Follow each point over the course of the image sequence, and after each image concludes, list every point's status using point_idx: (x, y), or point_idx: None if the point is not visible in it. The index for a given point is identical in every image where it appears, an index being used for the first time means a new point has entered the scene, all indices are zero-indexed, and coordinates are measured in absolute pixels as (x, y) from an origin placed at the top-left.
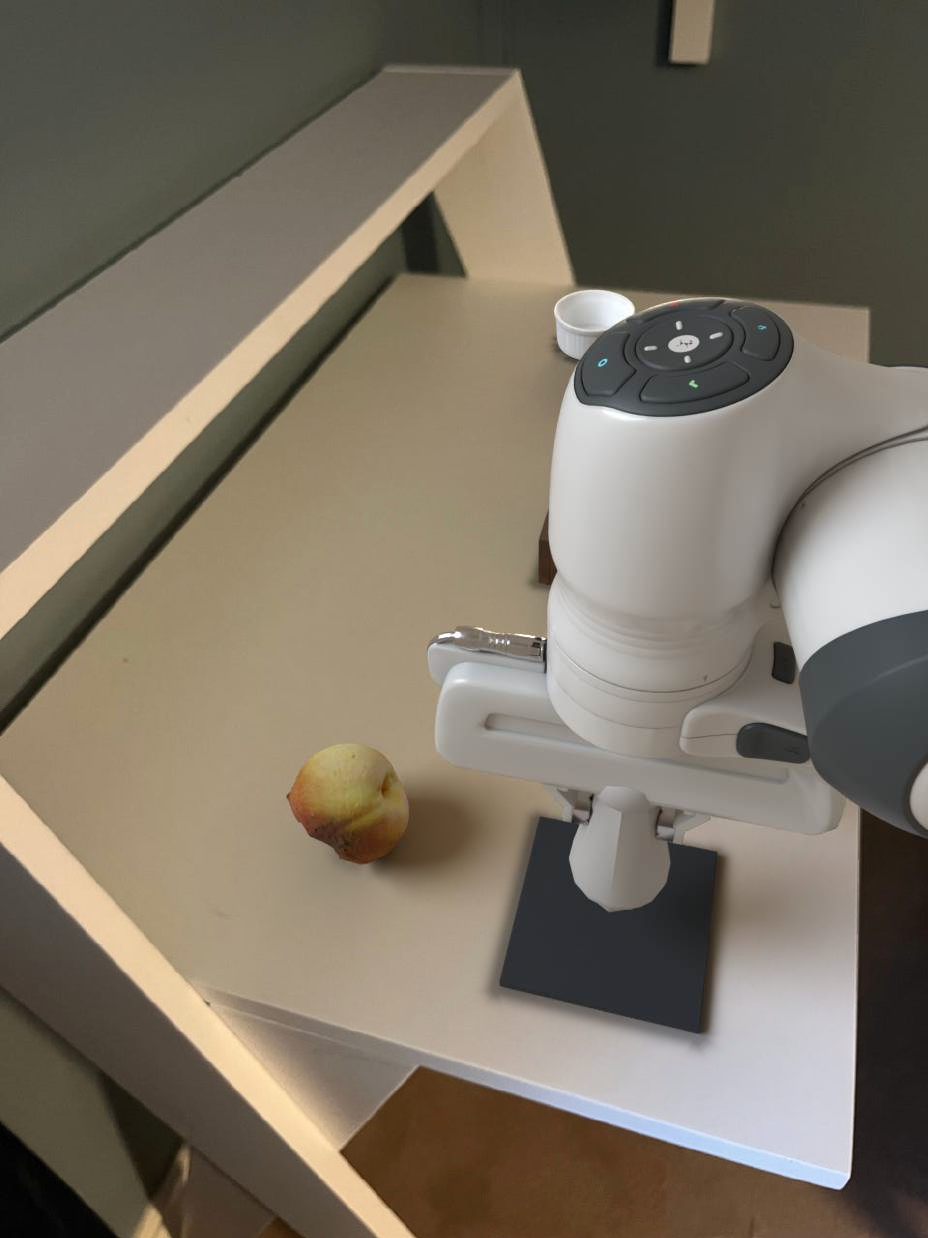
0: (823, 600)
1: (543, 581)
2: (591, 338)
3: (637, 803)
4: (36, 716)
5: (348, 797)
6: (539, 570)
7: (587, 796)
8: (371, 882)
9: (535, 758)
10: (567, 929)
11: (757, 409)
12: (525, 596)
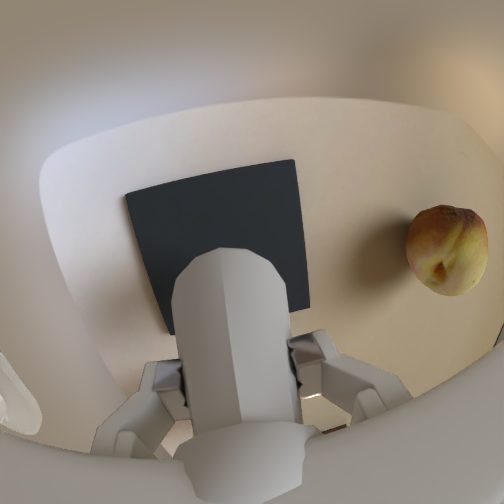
0: None
1: (343, 426)
2: None
3: (207, 469)
4: None
5: (472, 247)
6: None
7: (306, 384)
8: (404, 204)
9: (483, 449)
10: (256, 227)
11: None
12: (351, 416)
